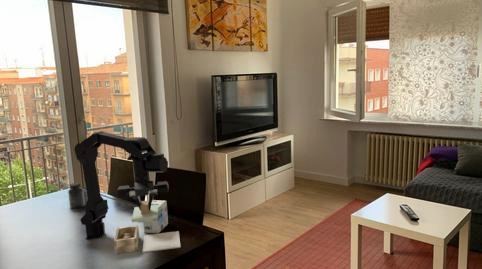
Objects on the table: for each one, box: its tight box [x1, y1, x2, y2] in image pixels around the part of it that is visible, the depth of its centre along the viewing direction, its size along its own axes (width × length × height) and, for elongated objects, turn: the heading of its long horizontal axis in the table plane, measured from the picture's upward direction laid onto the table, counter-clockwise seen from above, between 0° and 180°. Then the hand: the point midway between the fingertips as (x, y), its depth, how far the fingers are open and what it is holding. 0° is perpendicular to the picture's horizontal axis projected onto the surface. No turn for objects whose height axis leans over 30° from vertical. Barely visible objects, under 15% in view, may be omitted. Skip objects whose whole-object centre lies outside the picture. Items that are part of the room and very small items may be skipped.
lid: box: [131, 200, 158, 224], centre depth 141 cm, size 9×13×6 cm
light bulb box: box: [143, 199, 169, 234], centre depth 157 cm, size 11×7×11 cm, turn 168°
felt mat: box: [142, 230, 182, 253], centre depth 145 cm, size 14×14×1 cm
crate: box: [113, 224, 140, 254], centre depth 143 cm, size 8×12×5 cm, turn 12°
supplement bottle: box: [67, 182, 86, 210], centre depth 186 cm, size 7×7×12 cm
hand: (145, 210), depth 141 cm, fingers closed on lid, 3 cm apart
